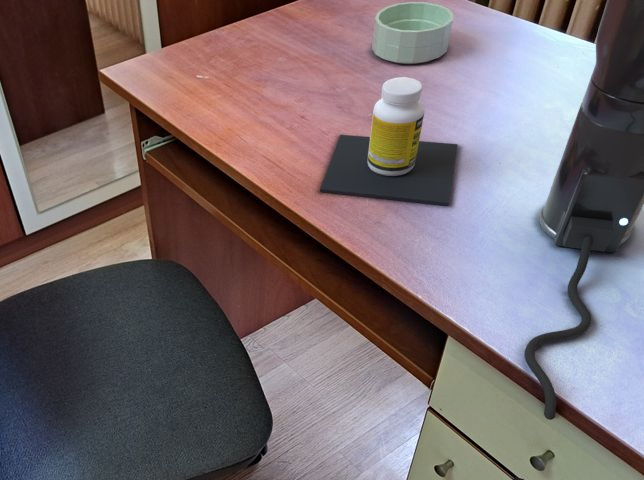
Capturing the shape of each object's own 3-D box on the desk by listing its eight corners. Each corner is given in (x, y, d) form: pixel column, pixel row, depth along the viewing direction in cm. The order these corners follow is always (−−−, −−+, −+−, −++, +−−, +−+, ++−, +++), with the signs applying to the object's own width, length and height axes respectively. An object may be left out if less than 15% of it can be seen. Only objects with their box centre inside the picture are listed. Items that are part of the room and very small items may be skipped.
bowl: (443, 67, 106) (450, 33, 102) (366, 64, 110) (370, 30, 106) (450, 36, 113) (456, 2, 109) (378, 33, 117) (381, 1, 113)
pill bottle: (416, 178, 85) (431, 97, 77) (367, 178, 86) (377, 98, 78) (413, 152, 89) (426, 73, 81) (366, 153, 91) (375, 74, 82)
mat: (447, 206, 81) (448, 202, 81) (319, 192, 86) (319, 188, 86) (457, 147, 90) (457, 144, 90) (339, 137, 95) (340, 134, 95)
